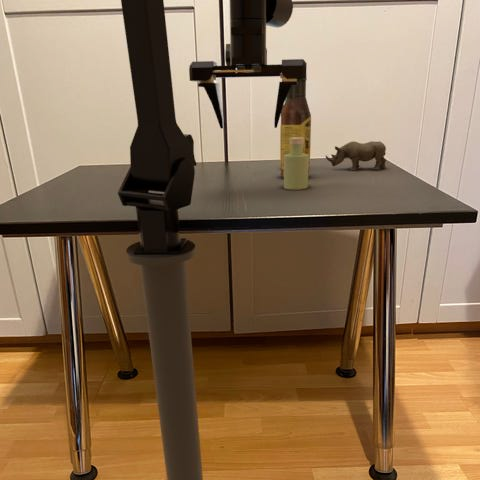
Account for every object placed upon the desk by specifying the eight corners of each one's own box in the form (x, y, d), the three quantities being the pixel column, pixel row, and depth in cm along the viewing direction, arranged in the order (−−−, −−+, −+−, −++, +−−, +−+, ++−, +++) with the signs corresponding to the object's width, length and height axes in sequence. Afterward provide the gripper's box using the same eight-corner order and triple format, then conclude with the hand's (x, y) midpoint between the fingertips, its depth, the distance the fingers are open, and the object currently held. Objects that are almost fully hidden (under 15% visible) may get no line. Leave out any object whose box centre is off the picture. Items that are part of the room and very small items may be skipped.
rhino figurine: (324, 168, 112) (325, 141, 110) (384, 167, 111) (387, 139, 108) (325, 171, 109) (326, 143, 106) (387, 170, 107) (390, 141, 105)
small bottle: (308, 189, 91) (310, 138, 87) (283, 189, 91) (284, 139, 87) (307, 184, 95) (308, 136, 91) (283, 185, 95) (284, 136, 91)
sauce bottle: (311, 179, 100) (315, 72, 91) (281, 180, 100) (282, 73, 91) (307, 174, 106) (310, 72, 97) (279, 174, 106) (279, 73, 97)
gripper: (305, 26, 82) (302, 124, 89) (197, 29, 84) (202, 125, 90) (308, 16, 72) (304, 128, 79) (185, 20, 74) (191, 129, 80)
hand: (248, 128), depth 82 cm, fingers open, 9 cm apart
